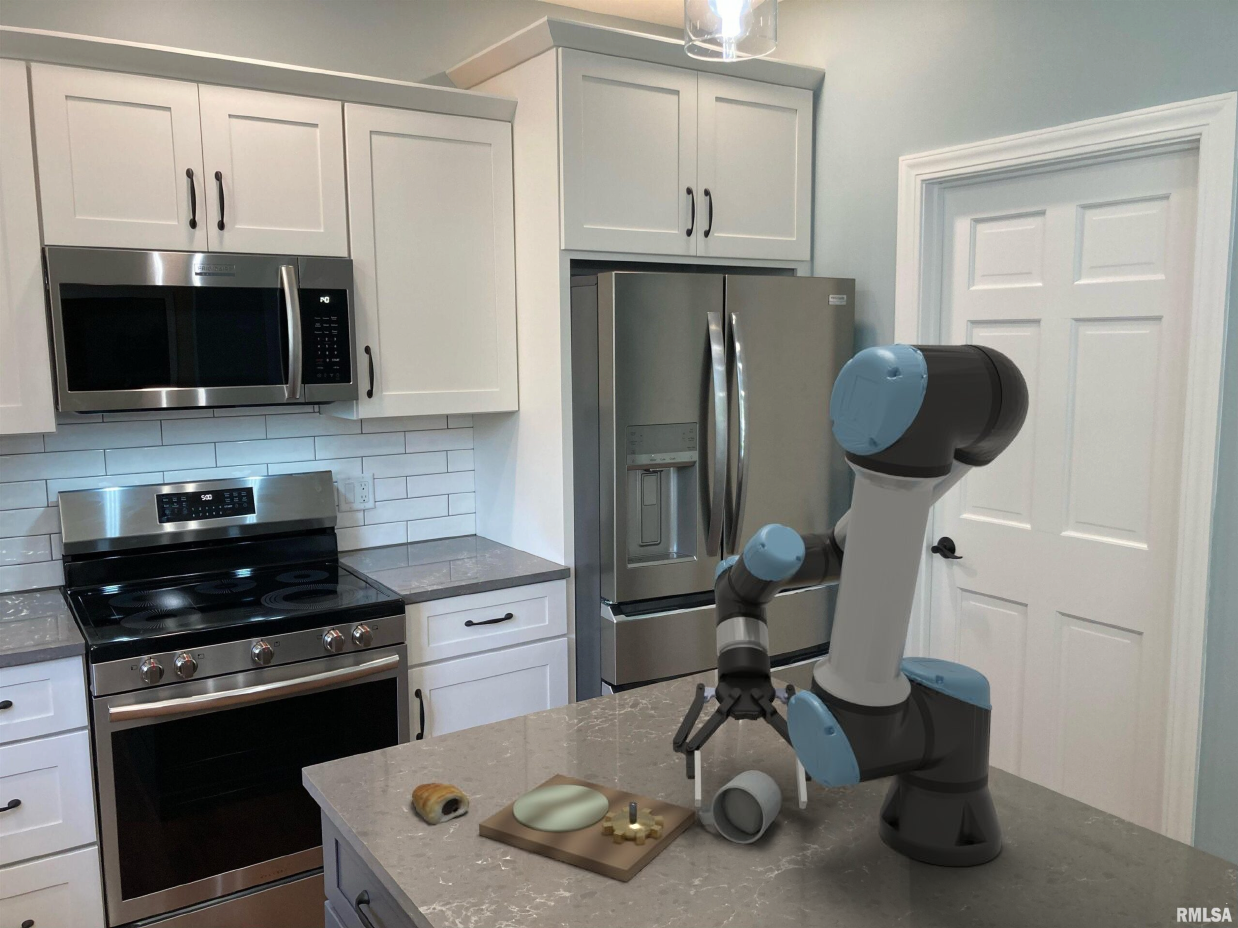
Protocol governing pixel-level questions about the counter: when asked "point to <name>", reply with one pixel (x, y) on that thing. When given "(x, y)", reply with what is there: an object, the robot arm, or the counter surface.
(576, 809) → the gear board
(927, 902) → the counter surface
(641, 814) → the gear
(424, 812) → the pastry
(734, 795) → the ceramic mug
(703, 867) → the counter surface
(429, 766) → the counter surface
